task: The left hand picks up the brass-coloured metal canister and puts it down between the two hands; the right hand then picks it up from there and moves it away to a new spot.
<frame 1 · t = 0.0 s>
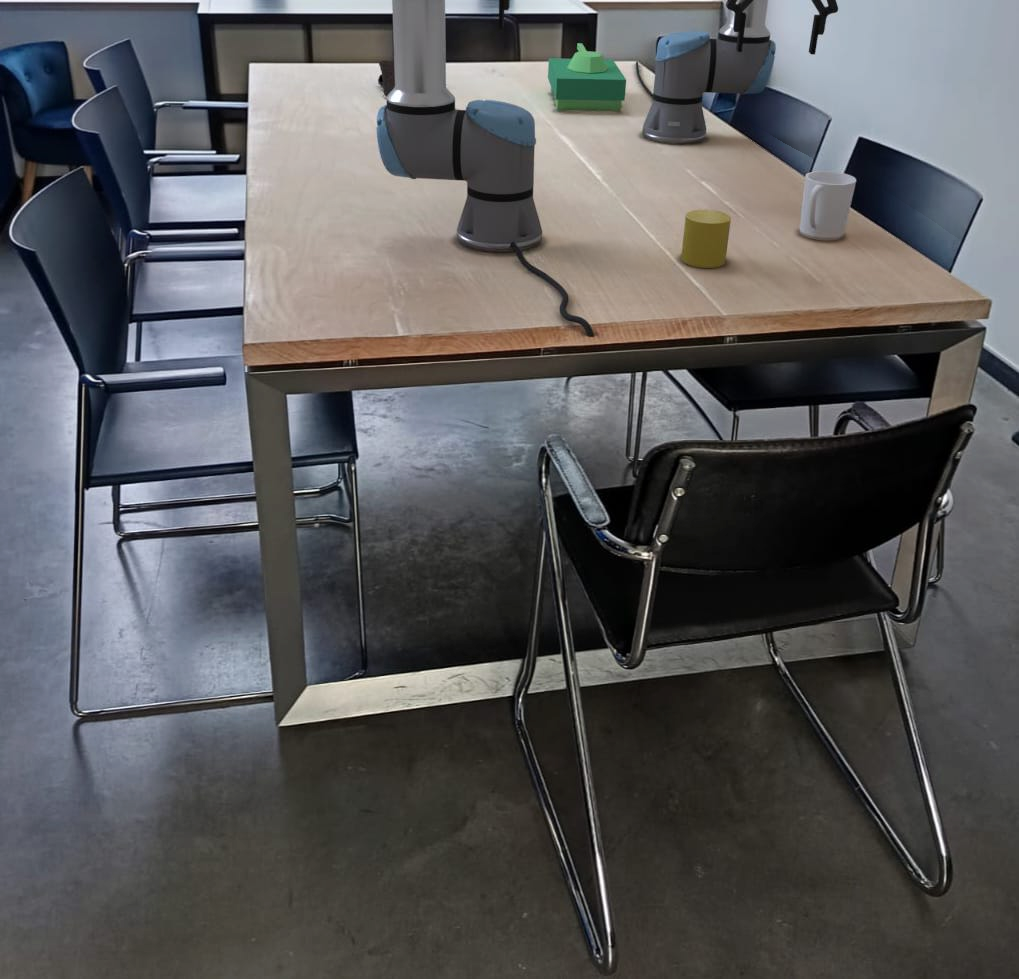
left hand: (468, 26, 224), 28 cm above the table, tool pointing down, fingers open, 13 cm apart
right hand: (775, 52, 206), 28 cm above the table, tool pointing down, fingers open, 13 cm apart
axe head: (403, 91, 300), on the table
mug: (818, 235, 202), on the table
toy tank: (582, 99, 296), on the table
canister: (703, 260, 189), on the table
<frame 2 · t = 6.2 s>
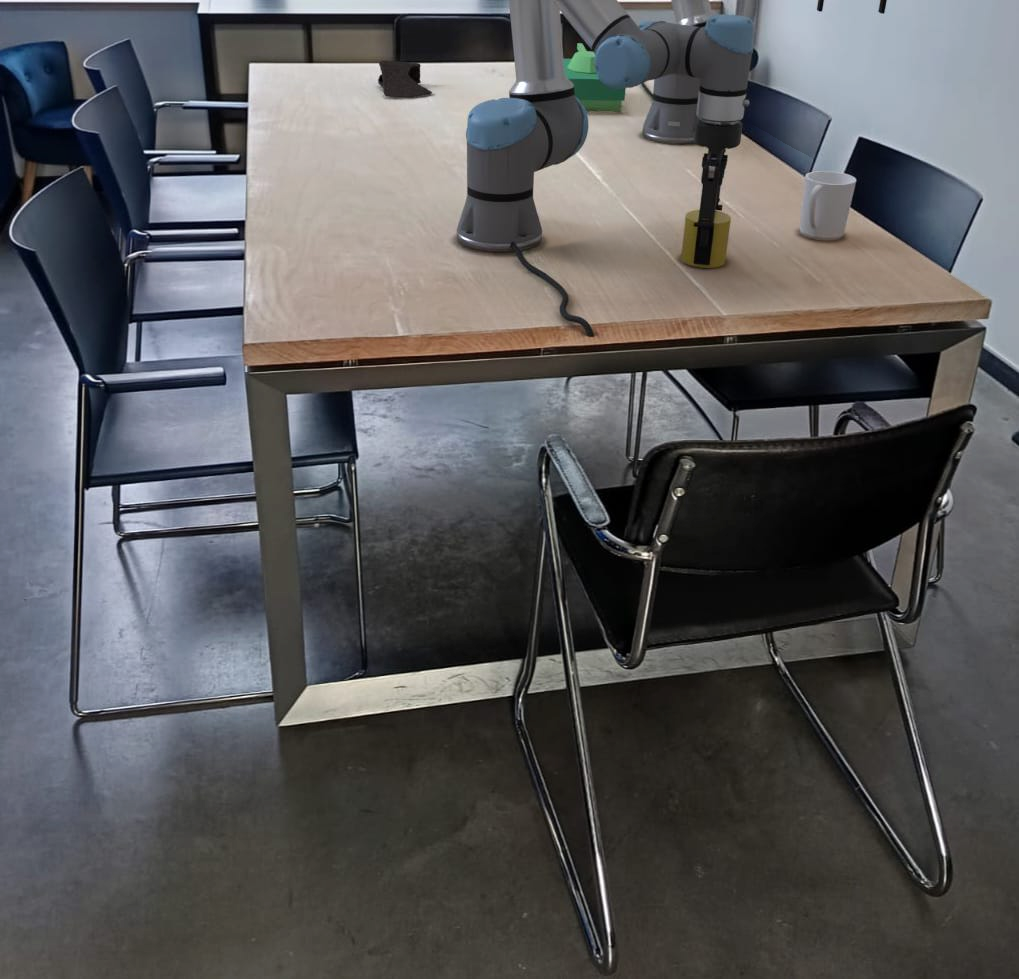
left hand: (703, 255, 189), 1 cm above the table, tool pointing down, fingers closed on canister, 8 cm apart
right hand: (850, 11, 243), 29 cm above the table, tool pointing down, fingers open, 13 cm apart
canister: (703, 260, 189), on the table, touching left hand
everything else where it was.
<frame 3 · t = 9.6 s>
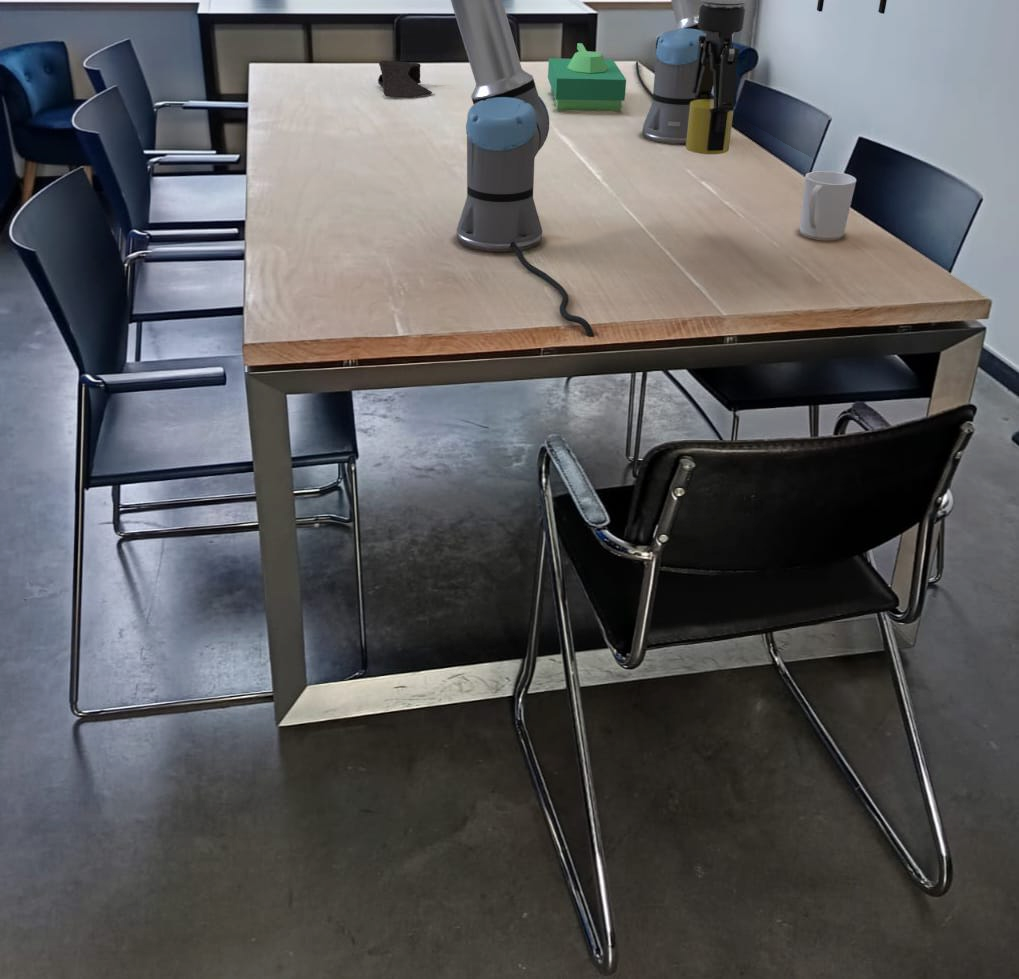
left hand: (707, 143, 194), 16 cm above the table, tool pointing down, fingers closed on canister, 8 cm apart
right hand: (850, 11, 243), 29 cm above the table, tool pointing down, fingers open, 13 cm apart
canister: (707, 148, 195), point 15 cm above the table, touching left hand
everything else where it was.
when the left hand's fingers open (2 cm above the table, at t = 12.9 s): canister drops 2 cm, on the table.
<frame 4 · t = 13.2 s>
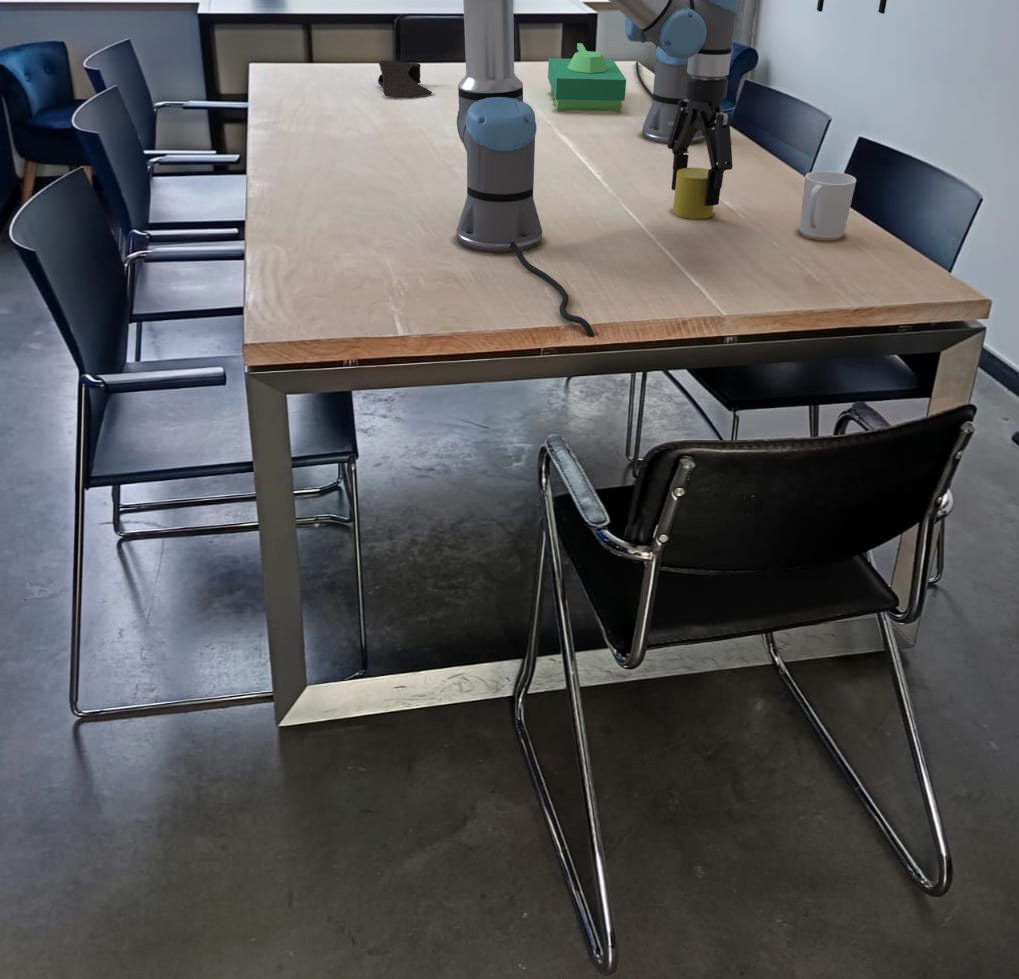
left hand: (694, 196, 210), 3 cm above the table, tool pointing down, fingers open, 10 cm apart
right hand: (850, 11, 243), 29 cm above the table, tool pointing down, fingers open, 13 cm apart
canister: (692, 213, 212), on the table
everything else where it was.
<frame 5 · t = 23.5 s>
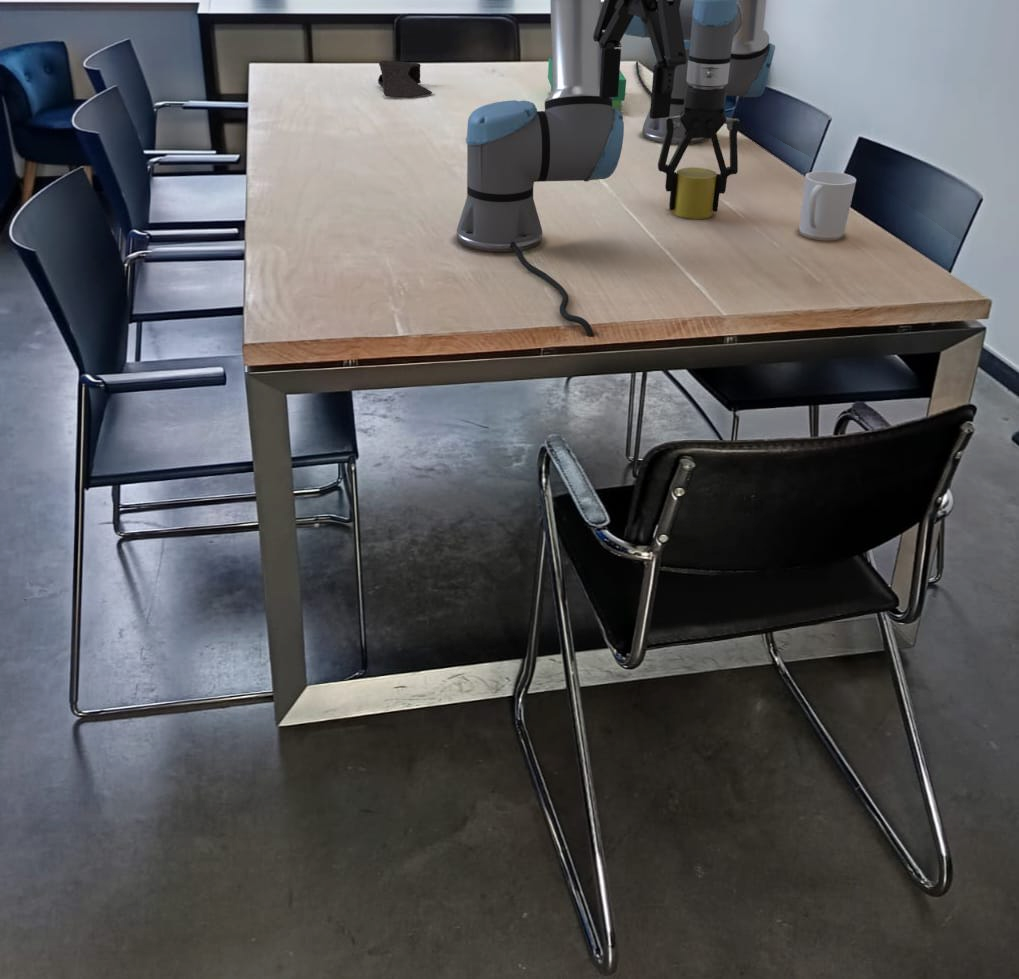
left hand: (633, 107, 154), 30 cm above the table, tool pointing down, fingers open, 13 cm apart
right hand: (693, 208, 211), 1 cm above the table, tool pointing down, fingers closed on canister, 8 cm apart
canister: (692, 213, 212), on the table, touching right hand
everything else where it was.
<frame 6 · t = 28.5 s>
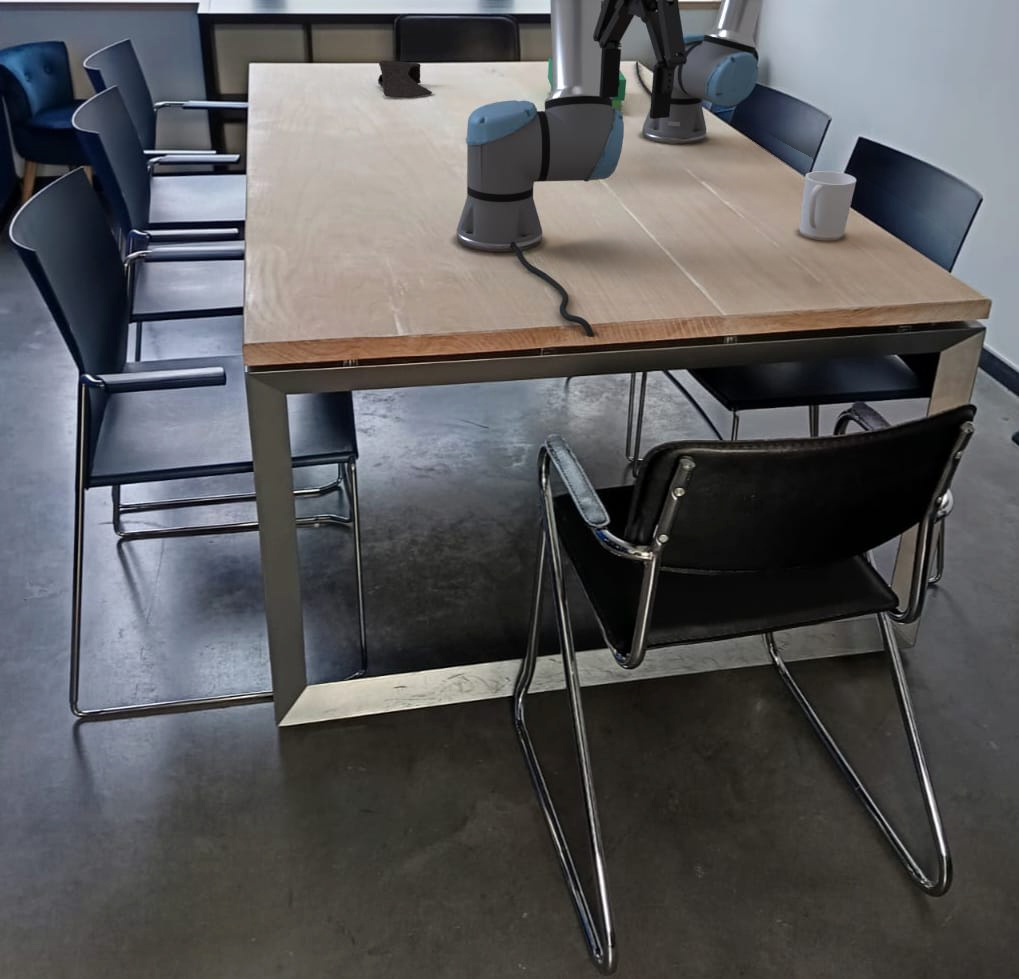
left hand: (633, 107, 154), 30 cm above the table, tool pointing down, fingers open, 13 cm apart
right hand: (587, 118, 232), 11 cm above the table, tool pointing down, fingers closed on canister, 8 cm apart
canister: (586, 123, 232), point 10 cm above the table, touching right hand
everything else where it was.
when the right hand's fingers open (2 cm above the table, at t = 33.4 s): canister drops 2 cm, on the table.
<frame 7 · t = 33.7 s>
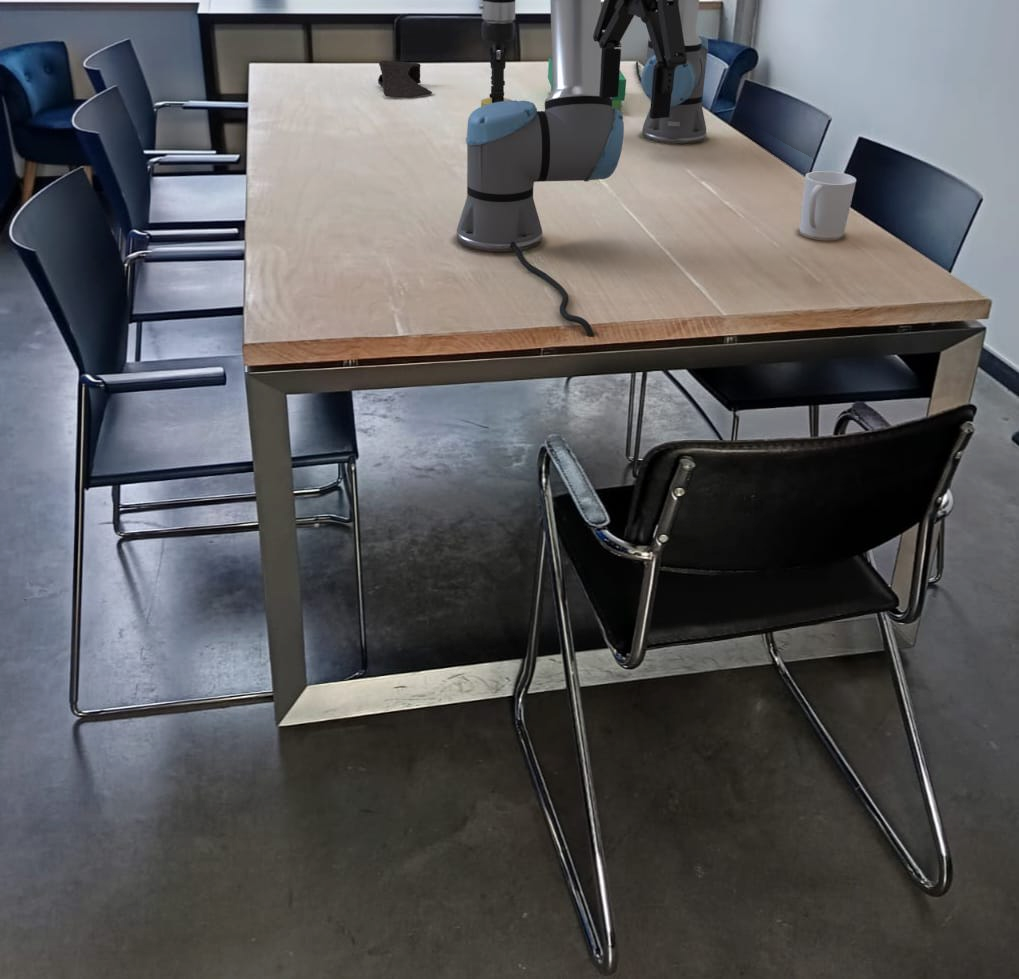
left hand: (633, 107, 154), 30 cm above the table, tool pointing down, fingers open, 13 cm apart
right hand: (496, 120, 260), 3 cm above the table, tool pointing down, fingers open, 11 cm apart
canister: (496, 134, 261), on the table
everything else where it was.
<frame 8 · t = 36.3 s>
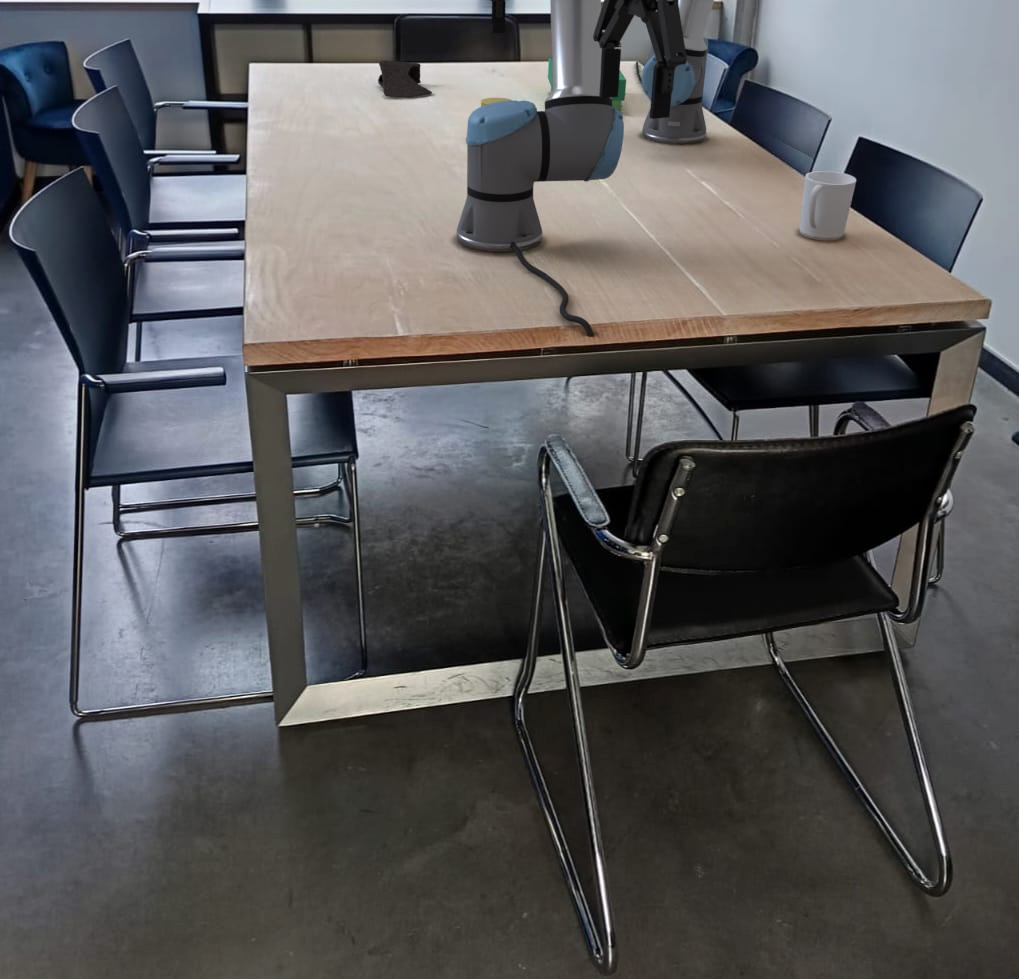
left hand: (633, 107, 154), 30 cm above the table, tool pointing down, fingers open, 13 cm apart
right hand: (498, 27, 249), 24 cm above the table, tool pointing down, fingers open, 13 cm apart
nothing on the table moved.
at the end: canister inside the target area (0.0 cm from its centre), on the table; canister tilted 0°; the two hands never held the canister at the same time; the left hand is holding nothing; the right hand is holding nothing; canister at rest at the end (0.0 cm/s) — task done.
